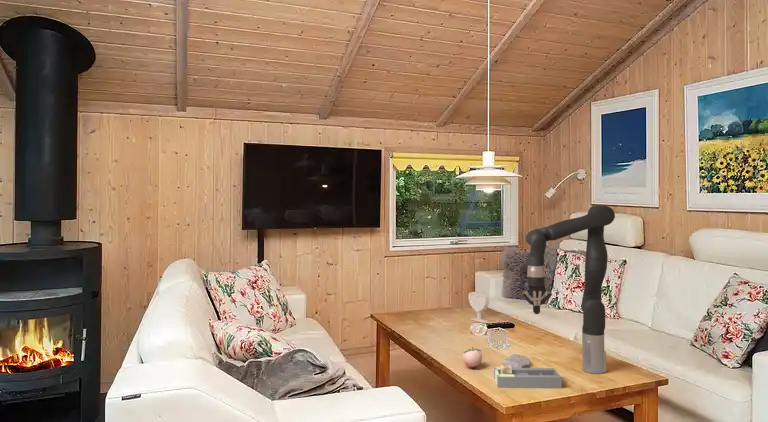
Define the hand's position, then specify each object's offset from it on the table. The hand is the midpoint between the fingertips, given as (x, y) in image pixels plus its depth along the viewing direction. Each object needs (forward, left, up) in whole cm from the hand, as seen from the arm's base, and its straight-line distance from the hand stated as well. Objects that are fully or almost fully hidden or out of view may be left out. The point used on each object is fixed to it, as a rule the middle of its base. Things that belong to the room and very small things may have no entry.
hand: (536, 313), depth 226 cm
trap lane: (+7, +12, -27) cm, 30 cm away
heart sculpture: (+15, -98, -27) cm, 103 cm away
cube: (+16, +12, -24) cm, 31 cm away
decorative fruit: (+28, -6, -27) cm, 39 cm away
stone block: (+7, -10, -28) cm, 30 cm away
